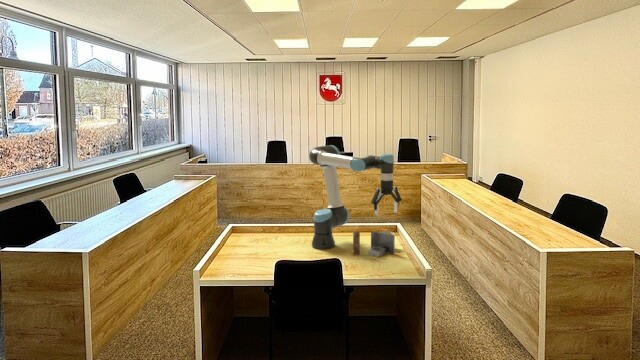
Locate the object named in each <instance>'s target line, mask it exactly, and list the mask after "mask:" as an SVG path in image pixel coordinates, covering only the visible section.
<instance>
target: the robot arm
mask: <svg viewBox="0 0 640 360" xmlns="http://www.w3.org/2000/svg"><path fill="white" fill-rule="evenodd" d="M308 158H309V161H310V162H311V163H312V164H313V165H317V166H319V167H320V168H321V169H322V171H323V178H324V182H325V183H324V184H325V190H326V196H327V197H326V198H327V202H328V203H327V204H328V205H327V207H326V208H323V209H318V210H316V211H315V212H314V214H313V230H314V231H313V232H314V234H313V238H312V241H311V247H312V248H313V249H317V250H330V249H332V248H335V247H336V241H335V239H334V236H333V229H334V228H337V227H341V226H344V225H346V224H347V223H348V222H349V219H350V213H349V210H348V209H347V208H346V207H345V204H344V203H342V197H341V191H340V185H339V179H338V172H337V168H344V169H349V170H352V171H353V172H355V173H357V172H358V173H359V172H363V171H368V170H372V169H375V170H377V169H378V170H380V179H381V180H380V188H379V187H376V188H375V191H374V194H373V197H372V200H371V202H370V204H372V205H373V209H374V215H375V216H379V202H380V201H381V200H382V199H383V197H384V196H391V197H392V199H393V200H394V202H393V212H394V213H395V214H398V208H399V204H400V202H402V197H401V194H400V193H399V189H398V186H395V185H394V180H393V179H394V163H395V159H394V158H395V157H394V154H392V153H382V154H381V155H380V156H378V155H372V154H369V155H366V156H364V157H356V156H355V157H354V156H349V155H343V154H341V153H340V150H339V148H338V147H337V146H335V145H332V144H330V145H329V144H328V145H321V146H315V147H313V148H312V149H311V150H310V152H309V155H308Z"/></svg>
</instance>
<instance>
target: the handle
mask: <svg viewBox="0 0 640 360" xmlns="http://www.w3.org/2000/svg"><path fill="white" fill-rule="evenodd" d="M360 233H361V232H360V231H353V232H352V234H353V235H352V246H353V247H352V252H353V253H352V255H355V256H360V255H361V254H360V253H361V252H360V251H361V245H360V244H361V241H360V239H361V238H360V237H361V235H360Z"/></svg>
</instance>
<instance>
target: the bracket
mask: <svg viewBox="0 0 640 360" xmlns="http://www.w3.org/2000/svg"><path fill="white" fill-rule="evenodd" d="M395 245H396V244H395V234H387V233H382V232H381V231H374V230H370V248H368V249H367V255H368V256H369V257H376V258H381V257H382V256H384V255H386V253H387V254H390V255H394V254H395V252H396V251H395Z"/></svg>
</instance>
